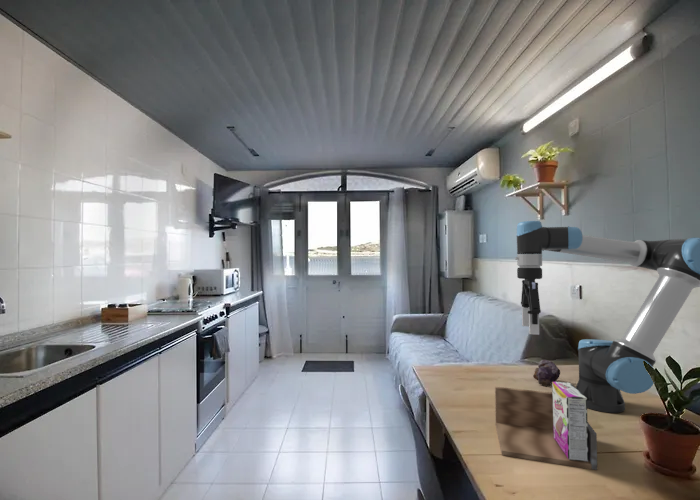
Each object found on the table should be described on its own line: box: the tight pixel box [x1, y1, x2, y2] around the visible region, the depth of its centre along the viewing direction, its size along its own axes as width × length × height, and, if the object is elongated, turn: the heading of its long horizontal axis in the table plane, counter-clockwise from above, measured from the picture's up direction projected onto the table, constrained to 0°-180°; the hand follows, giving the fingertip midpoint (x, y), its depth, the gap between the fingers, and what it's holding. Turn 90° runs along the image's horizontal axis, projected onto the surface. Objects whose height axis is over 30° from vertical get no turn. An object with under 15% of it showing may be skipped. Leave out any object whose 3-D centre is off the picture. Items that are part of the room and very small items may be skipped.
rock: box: [532, 359, 561, 387], centre depth 148 cm, size 12×9×10 cm
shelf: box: [494, 386, 598, 471], centre depth 99 cm, size 22×18×12 cm
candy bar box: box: [551, 381, 589, 462], centre depth 94 cm, size 11×5×16 cm, turn 168°
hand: (530, 330), depth 118 cm, fingers open, 13 cm apart
